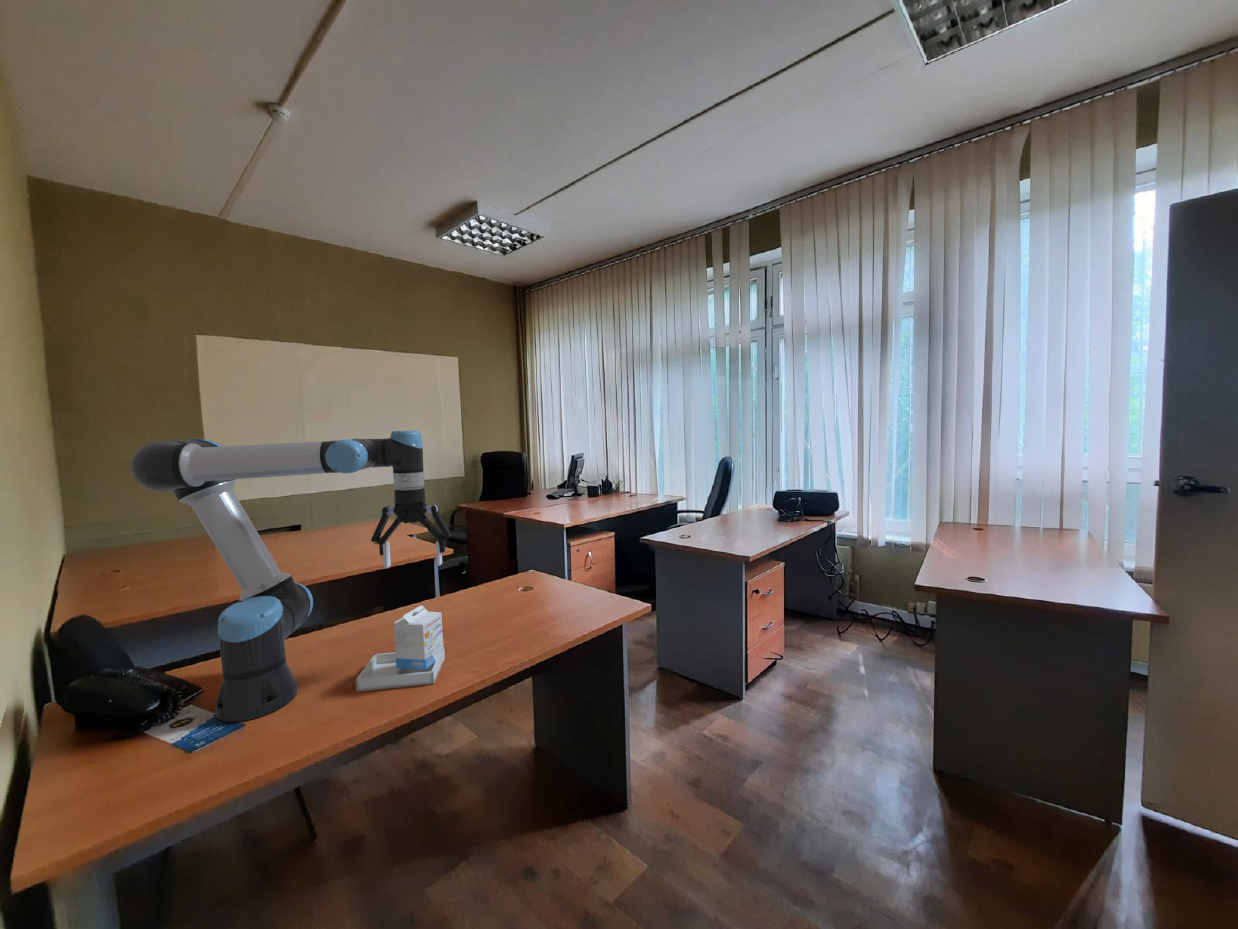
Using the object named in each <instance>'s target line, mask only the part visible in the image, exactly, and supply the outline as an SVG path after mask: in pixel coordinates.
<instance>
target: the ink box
mask: <svg viewBox="0 0 1238 929" xmlns="http://www.w3.org/2000/svg"><path fill="white" fill-rule="evenodd" d="M393 634H394V635H393V636H394V649H395V653H396V668H404V669H421V670H426V669H427V668H428V667H430V666H431V665H432V664H433V663H434V662H436V661H437V660H438V659H439V658H440V657H441V656H443V655H444V651H445V647H444V637H443V636H444V634H443V617H442V612H440V611H428V610H427V609H426V607H425V606H424V605H419V606H417V607H415V608H414V609H412V610H411V611H409V612H406V613H404V615H403V616H402V617H401V618H399V619H398V620H396V621H395V622H394V621H393Z"/></svg>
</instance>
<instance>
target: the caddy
mask: <svg viewBox="0 0 1238 929" xmlns="http://www.w3.org/2000/svg"><path fill="white" fill-rule="evenodd" d="M445 659H446V656H445V650H444V655H443V656H441V657H440V658H439V659H438V660H437V661H436V662H434V663H433V664H432V665H431V666H430V667H428V668H427V669H426V670H421V669H404V668H396V653H395V652H394V651H393V652H384V653H374V655H373V656H372V657H371V659H370V660H369V662H367V664H366V665H365V666H364V668H362V669H363V670H362V671H361V672H360V673H359V674H358V676H357V677H356V678H355V690H356V691H355V692H356V693H357V692H368V691H377V690H387V689H399V688H407V687H409V688H410V687H417V686H418V687H419V686H427V685H434V684H435V682H436V679H437V677H438V676H439V673H440V671H441V669H442V666H443V664H444V662H445Z"/></svg>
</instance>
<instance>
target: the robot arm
mask: <svg viewBox="0 0 1238 929" xmlns="http://www.w3.org/2000/svg"><path fill="white" fill-rule="evenodd" d="M422 439H423V438H422V433H421V432H420V431H418V430H393V431H391V432H390V436H389V438H350V439H339V440H327V441H324V440H323V441H322V440H321V441H302V442H301V441H300V442H285V443H283V442H282V443H266V444H265V443H264V444H247V445H223V446H222V445H221V444H220V443H217V442H215V441H212V440H207V439H202V438H187V439H174V440H173V439H171V440H168V439H167V440H165V439H164V440H156V441H153V442H148V443H147V444H144V445H143V446H140V447H139V449H137V450H136V451H135V452H134V454H132V457H131V459H130V462H129V469H130V470H129V471H130V473H131V476H132V477H133V479H134V480H135V481H136V483H138V484H140V485H141V486H143V487H144V488H146V489H149V490H152V491H156V492H173V494H174V496H175V497H176V499H177V500H178V502H179V503H181V504H185V505H189V506H191V508H192V509H193V511H194V512H195V514H196V516H197V518H198V519H199V521H200V523H201V525H202V526H203V528H204V529H205V531H206V533H207V534H208V536H209V538H210V539H211V541H212V542H213V544H214V545H215V548H216V549H217V551H218V552H219V554H220V555H221V558H222V559H223V561H224V563H225V564H226V565H227V567H228V569H229V571H230V573H231V575H232V576H233V577H234V579H235V581H236V582H237V584H238V586H239V587H240V589H241V594H240V597H239V598H238V601H239V602H235V603H233V604H231V605H230V606H228V607H227V608H225V609H224V610H222V612H221V613H220V615H219V617H218V625H217V626H218V627H217V635H218V640H219V641H218V642H219V650H220V659H221V660H220V661H221V670H222V682H221V685H220V689H219V692H218V696H217V699H216V702H215V706H214V708H215V717H216V719H217V718H218V719H220V720H222V721H221V722H226V723H238V722H245V721H250V720H253V719H254V720H255V719H258V718H260V717H261V718H262V717H263V716H266V715H268V714H269V715H270V714H271V713H273V712H276V711H277V710H280V709H282V708H284V707H285V706H287V705H288V704H289V703H291V702H292V701H293V700H294V699H295V698H296V696H297V695H298V692H299V691H298V682H297V680H296V678H295V677H294V675H293V673H292V671H291V669H290V666H289V665H288V663H287V657H286V644H285V642H286V641H285V640H286V639H287V638H288V637H289V636H291V634H293V633H294V632H295V631H296V630H297V629H298V628H300V627H301V626H303V624H305V622H306V620H307V619H308V618H309V616H310V614H311V613H312V610H313V607H314V599H313V594H312V593H311V591H310V590H309V588H308V587H306V585H303V583H302V584H301V583H298V582H296V581H295V579H294V578H293V577H292V576H293V575H292V574H290V573H286V572H282V570H280V568H279V566H278V565H277V563H276V561H275V559H274V558H273V555H271V553H270V551H269V549H268V548H267V546H266V544H265V543H264V541H263V539H262V537H261V535H260V534H259V533H258V530H257V529H256V527H255V526H254V523H253V522H252V520H251V518H250V517H249V515H248V514H247V512H246V510H245V509H244V507H243V505H242V503H241V502H240V500H239V499H238V497H237V494H235V491H234V487H235V485H236V483H237V481H236V480H243V479H245V480H246V479H259V478H260V479H262V478H274V477H289V476H304V475H305V476H306V475H320V474H321V475H322V474H337V473H338V474H339V473H341V474H351V473H356V472H359V471H361V470H365V469H369V468H385V467H386V468H387V467H388V468H390V467H391V468H392V476H393V477H392V478H393V488H395V489H394V490H393V491H394V492H393V494H394V507H392V506H389V505H386V506H385V507H383V508H382V510H381V517H380V519H379V522H378V523H377V525H376V528H375V530H374V532H373V534H372V537H371V539H370V541H371V542H372V543H377V544H378V547H379V549H378V550H379V555H380V556H381V557H383V568H384V569H388V568H390V567H391V566H392V560H391V547H390V546H391V545H390V544H391V543H390V541H388V540H389V538H390V537H391V535H393V533H394V532H395V531H396V530H397V528H398V527H399V526H400V524H401V523H403V524H408V523H412V524H415V523H416V524H417V523H420V524H421V525H423V526H424V527H425V528H426V529H427V531H429V533H431V534H432V536H433V537H434V538H435V539H436V541H435V554H436V555H435V557H436V558H435V559H436V567H440V566H441V565H442V564H443V554H444V553H445V552H446V540H449V539H450V538H451V537H452V536H453V535H452V532H451V530H450V529H449V527H448V525H447V524H446V521H445V520H444V519H443V516H442V515H441V513H440V511H439V510H440V509H439V505H438V504H436V503H435V504H433V505H427V504H426V491H425V488H424V486H425V474H424V473H425V472H424V447H423V440H422ZM427 512H429V514H430V515H431V514H432V518H433V519H434V521H435V523H436V524H437V525H438V527H436V525H435V524H433V521H431V520H430V518H428V516H427V515H426V513H427ZM392 514H395V516H396V518H395V520H394V521H393V523H392V524H391V525H390V526H389V527H388V528H387V530H386V531H385V532H384V534H383V535H382V533H383V531H384V529H385V527H386V525H387V523H388V520H389V518H390V516H391V515H392ZM438 528H439V529H440V530H439V529H438ZM218 719H217V720H218ZM220 720H219V721H220Z"/></svg>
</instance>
